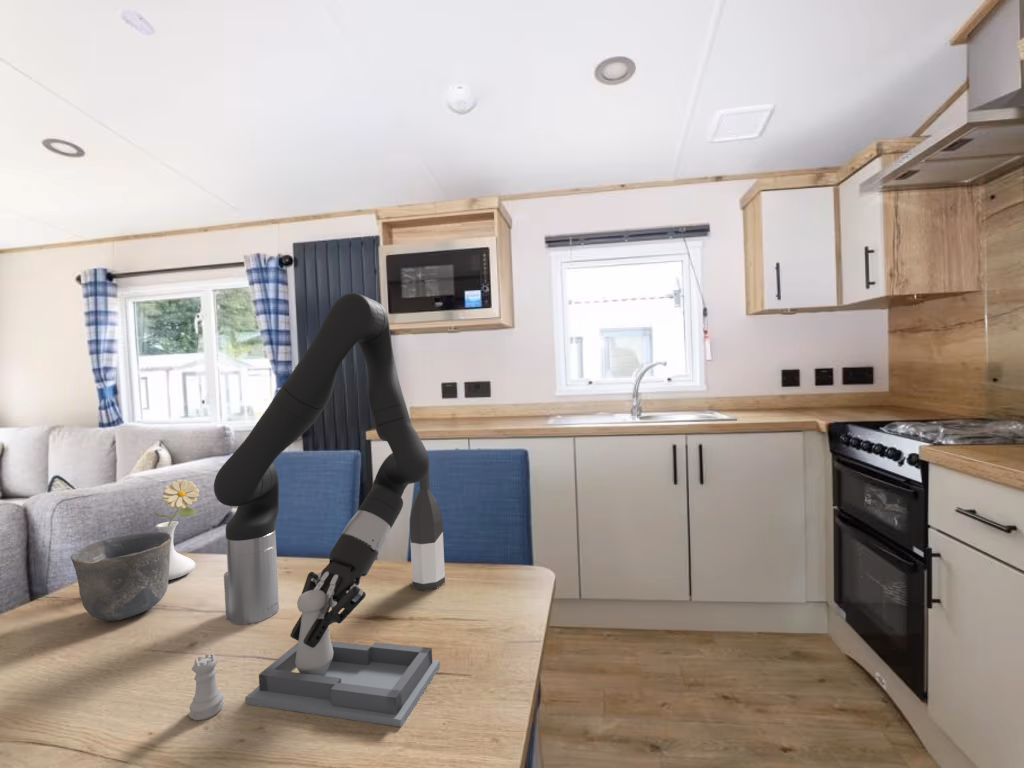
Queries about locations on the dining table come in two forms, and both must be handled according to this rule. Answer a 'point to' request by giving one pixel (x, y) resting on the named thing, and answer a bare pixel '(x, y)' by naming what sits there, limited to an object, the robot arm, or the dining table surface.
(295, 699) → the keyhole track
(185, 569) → the flower in vase
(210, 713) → the rook chess piece
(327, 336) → the robot arm
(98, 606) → the grey stone bowl
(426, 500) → the wine bottle
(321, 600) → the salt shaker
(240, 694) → the dining table surface
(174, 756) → the dining table surface
